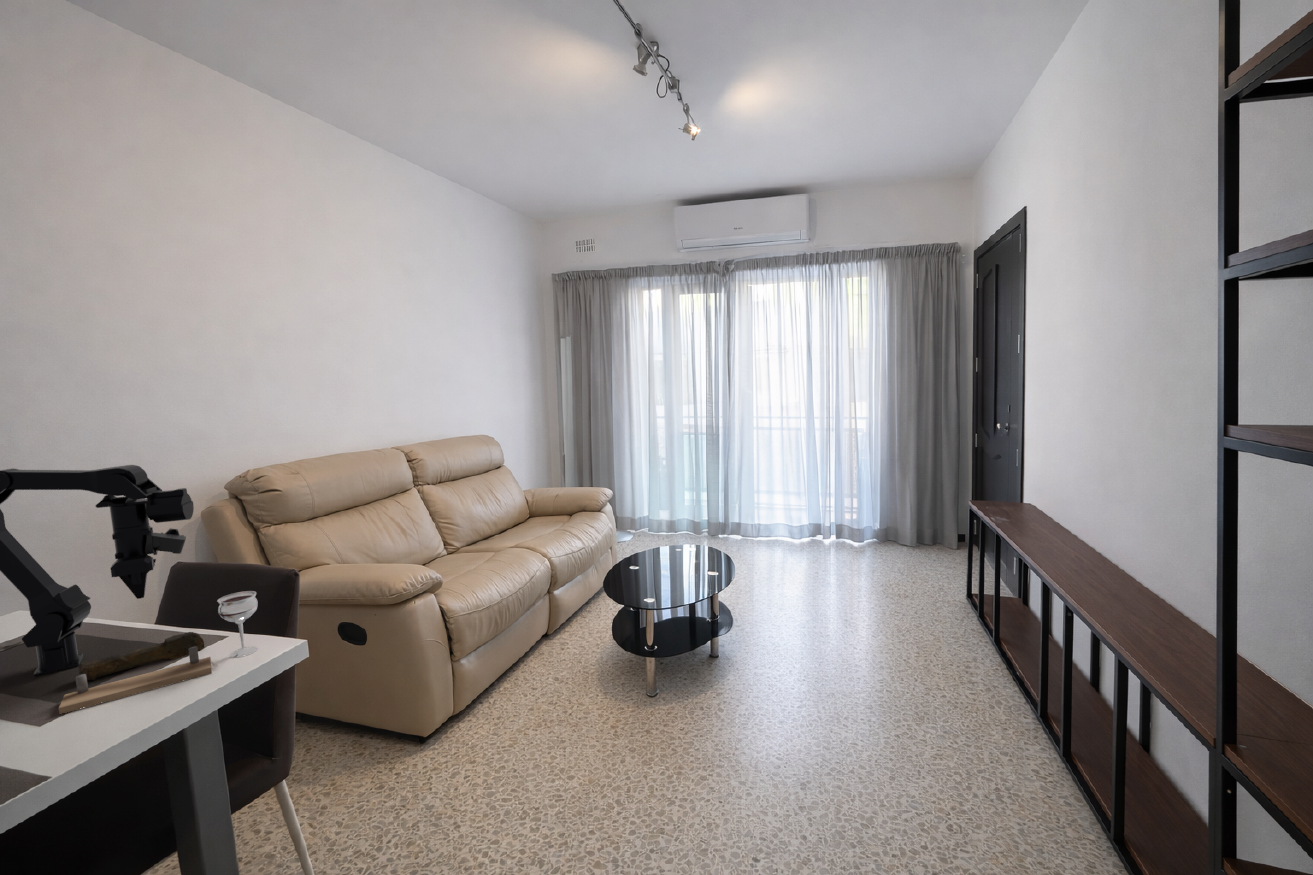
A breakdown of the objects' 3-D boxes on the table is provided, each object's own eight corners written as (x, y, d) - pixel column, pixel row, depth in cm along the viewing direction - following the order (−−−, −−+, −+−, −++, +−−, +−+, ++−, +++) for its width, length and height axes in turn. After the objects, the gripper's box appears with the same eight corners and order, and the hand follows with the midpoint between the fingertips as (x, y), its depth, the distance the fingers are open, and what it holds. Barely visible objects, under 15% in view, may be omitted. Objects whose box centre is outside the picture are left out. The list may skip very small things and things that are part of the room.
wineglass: (260, 654, 121) (253, 598, 120) (220, 662, 118) (213, 605, 117) (265, 641, 127) (259, 588, 126) (227, 649, 124) (221, 595, 123)
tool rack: (65, 700, 105) (62, 678, 105) (211, 662, 118) (208, 642, 118) (59, 714, 101) (56, 691, 100) (211, 673, 113) (209, 652, 113)
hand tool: (79, 687, 111) (76, 663, 110) (82, 679, 114) (79, 656, 113) (204, 654, 123) (202, 633, 122) (204, 648, 126) (201, 627, 125)
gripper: (179, 525, 120) (188, 599, 121) (181, 512, 134) (189, 577, 136) (105, 536, 113) (116, 614, 114) (116, 521, 127) (125, 590, 129)
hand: (140, 597), depth 123 cm, fingers closed
